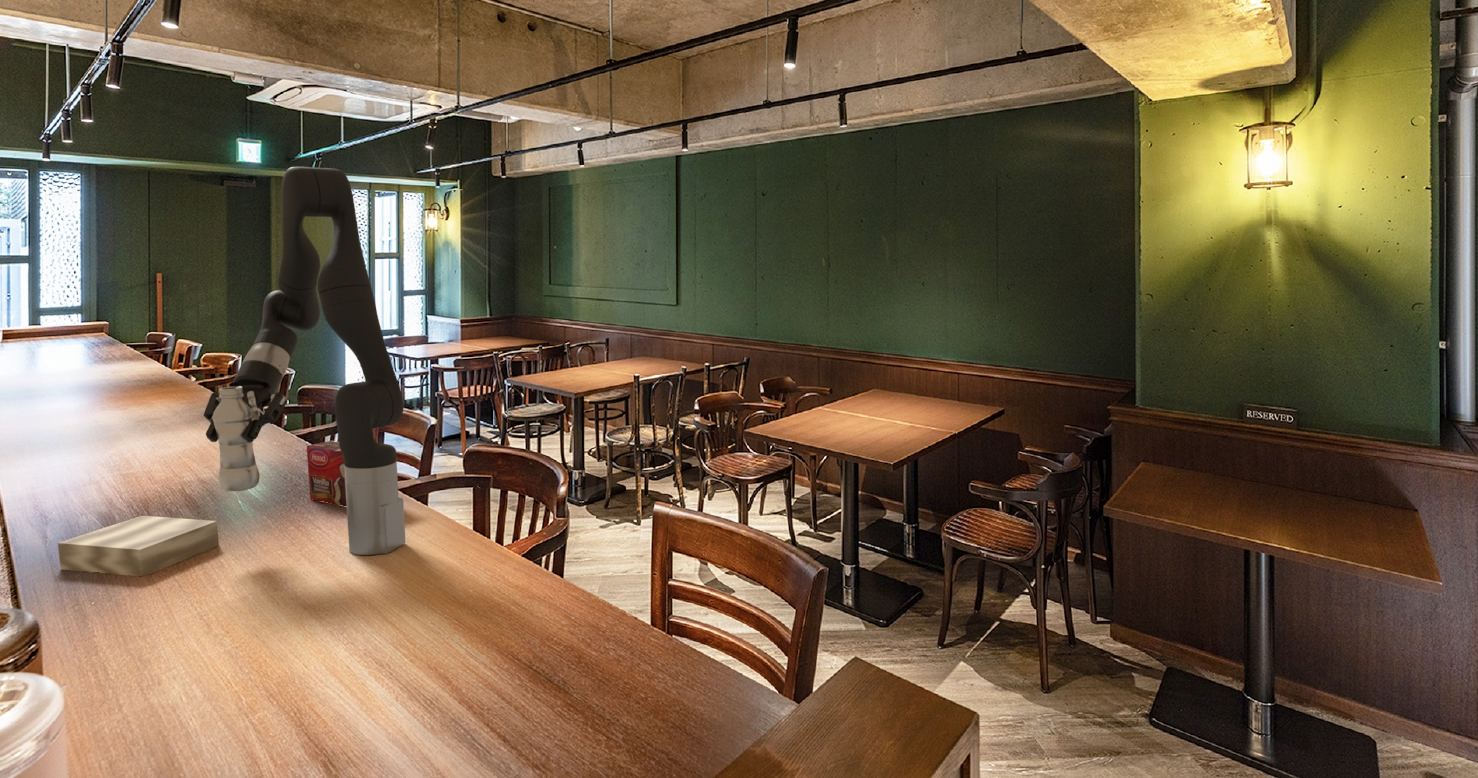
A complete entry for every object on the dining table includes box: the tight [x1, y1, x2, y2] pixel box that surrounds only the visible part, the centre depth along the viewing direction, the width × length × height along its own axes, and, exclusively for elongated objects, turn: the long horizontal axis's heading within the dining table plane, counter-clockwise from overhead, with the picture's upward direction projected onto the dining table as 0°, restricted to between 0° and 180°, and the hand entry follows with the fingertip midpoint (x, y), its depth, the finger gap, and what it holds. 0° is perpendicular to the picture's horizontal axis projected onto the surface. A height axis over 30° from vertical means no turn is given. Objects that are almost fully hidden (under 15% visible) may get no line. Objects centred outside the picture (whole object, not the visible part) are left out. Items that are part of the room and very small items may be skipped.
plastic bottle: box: [213, 386, 260, 492], centre depth 141 cm, size 6×7×20 cm
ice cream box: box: [306, 440, 347, 506], centre depth 174 cm, size 20×6×13 cm, turn 65°
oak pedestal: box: [57, 515, 220, 578], centre depth 139 cm, size 17×16×5 cm
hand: (229, 439), depth 139 cm, fingers closed on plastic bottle, 6 cm apart
